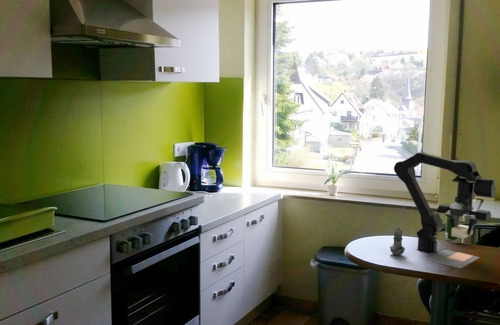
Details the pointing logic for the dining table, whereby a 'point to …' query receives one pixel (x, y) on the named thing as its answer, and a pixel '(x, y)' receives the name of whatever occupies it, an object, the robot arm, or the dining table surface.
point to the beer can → (450, 230)
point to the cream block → (460, 231)
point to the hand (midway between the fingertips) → (462, 233)
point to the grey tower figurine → (397, 243)
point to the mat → (452, 258)
